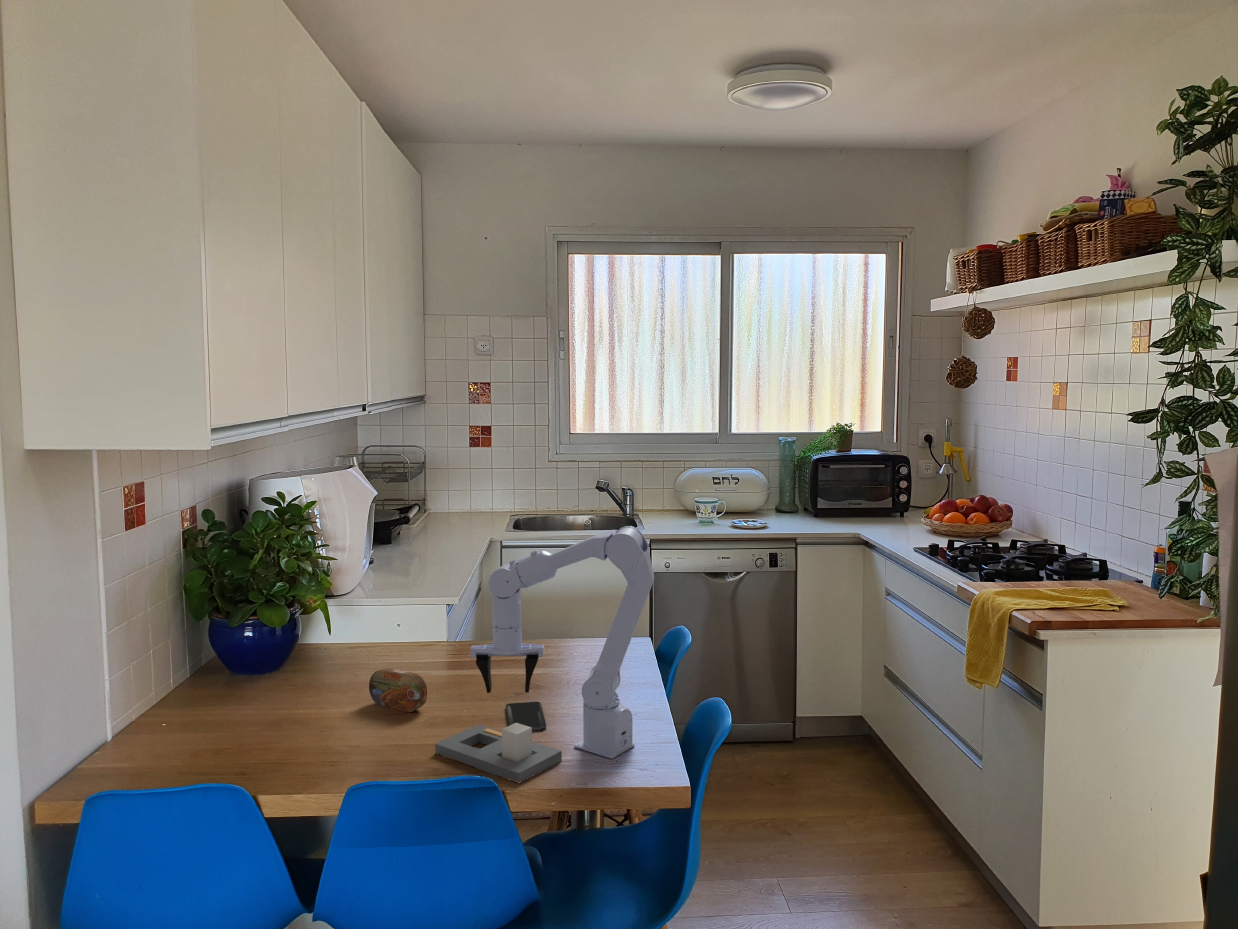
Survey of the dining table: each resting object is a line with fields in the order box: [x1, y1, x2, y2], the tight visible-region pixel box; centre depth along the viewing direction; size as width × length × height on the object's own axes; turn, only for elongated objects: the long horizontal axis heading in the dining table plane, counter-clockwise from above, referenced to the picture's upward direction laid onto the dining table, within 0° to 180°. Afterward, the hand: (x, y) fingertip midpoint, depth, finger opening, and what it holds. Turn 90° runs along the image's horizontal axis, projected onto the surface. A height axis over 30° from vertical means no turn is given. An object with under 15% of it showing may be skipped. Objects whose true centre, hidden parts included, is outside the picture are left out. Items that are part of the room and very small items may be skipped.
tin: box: [368, 668, 428, 713], centre depth 197 cm, size 15×3×8 cm, turn 62°
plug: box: [501, 723, 533, 762], centre depth 168 cm, size 4×4×7 cm
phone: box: [505, 701, 547, 733], centre depth 191 cm, size 8×1×15 cm
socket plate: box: [434, 724, 563, 782], centre depth 171 cm, size 22×12×2 cm, turn 54°
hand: (508, 691), depth 178 cm, fingers open, 7 cm apart
